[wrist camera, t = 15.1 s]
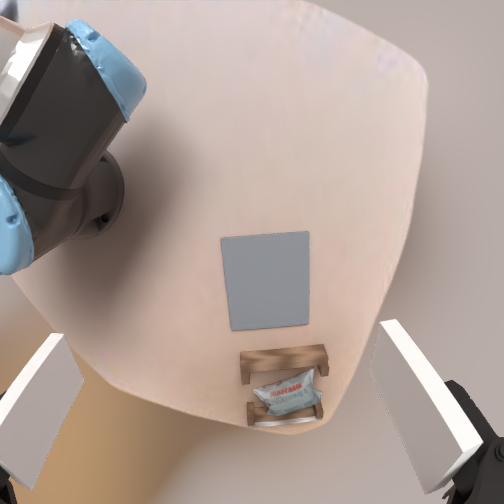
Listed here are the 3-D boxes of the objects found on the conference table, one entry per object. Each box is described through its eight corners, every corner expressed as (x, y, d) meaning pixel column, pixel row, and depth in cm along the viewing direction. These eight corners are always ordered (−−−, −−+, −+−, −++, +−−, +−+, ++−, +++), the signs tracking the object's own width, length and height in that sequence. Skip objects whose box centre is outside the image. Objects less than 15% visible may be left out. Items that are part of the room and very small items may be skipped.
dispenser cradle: (248, 412, 57) (248, 430, 52) (240, 351, 51) (240, 370, 47) (317, 405, 57) (322, 422, 52) (323, 344, 51) (329, 361, 47)
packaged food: (252, 381, 53) (254, 399, 49) (311, 361, 53) (317, 378, 48) (267, 406, 56) (269, 424, 52) (321, 389, 55) (327, 405, 51)
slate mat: (231, 328, 50) (231, 330, 49) (221, 237, 44) (220, 238, 44) (307, 321, 50) (308, 323, 49) (308, 231, 44) (308, 232, 44)
